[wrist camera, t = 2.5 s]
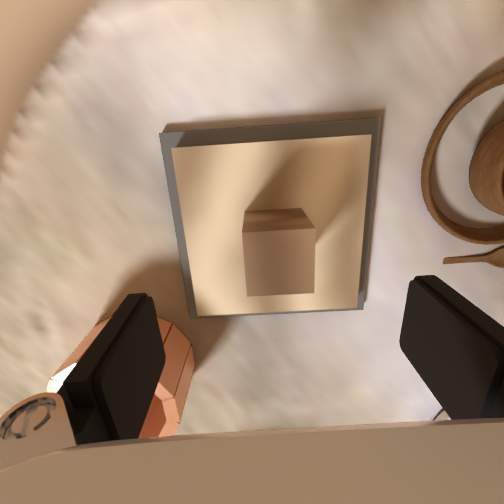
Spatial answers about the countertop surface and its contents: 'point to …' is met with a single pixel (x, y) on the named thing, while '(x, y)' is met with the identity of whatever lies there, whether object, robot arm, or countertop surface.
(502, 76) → the place setting
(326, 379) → the countertop surface
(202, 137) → the tray
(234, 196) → the lid
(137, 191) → the countertop surface
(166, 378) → the bowl
